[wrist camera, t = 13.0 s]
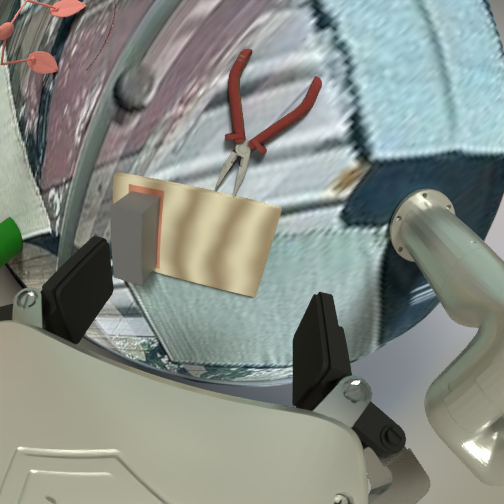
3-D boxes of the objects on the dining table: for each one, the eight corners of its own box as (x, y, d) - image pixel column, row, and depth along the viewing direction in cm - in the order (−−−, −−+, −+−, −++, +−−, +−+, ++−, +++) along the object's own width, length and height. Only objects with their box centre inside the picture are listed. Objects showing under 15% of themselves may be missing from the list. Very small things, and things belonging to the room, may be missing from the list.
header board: (281, 207, 39) (281, 221, 35) (256, 291, 47) (253, 311, 43) (118, 172, 38) (100, 182, 34) (118, 256, 46) (105, 271, 42)
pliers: (190, 176, 38) (184, 181, 36) (243, 48, 28) (240, 44, 26) (262, 206, 40) (261, 213, 37) (323, 81, 30) (327, 80, 27)
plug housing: (131, 191, 38) (110, 206, 33) (160, 196, 38) (142, 213, 33) (131, 256, 44) (114, 277, 39) (157, 263, 44) (142, 285, 39)
